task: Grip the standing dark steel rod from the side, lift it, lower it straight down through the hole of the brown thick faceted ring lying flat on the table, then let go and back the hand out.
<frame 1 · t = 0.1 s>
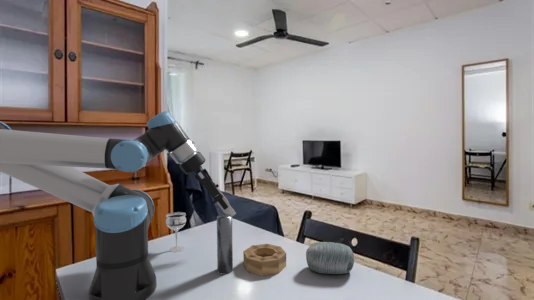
hand: (229, 210, 92), 15 cm above the table, fingers open, 13 cm apart
rod: (225, 270, 83), on the table
brown thick faceted ring: (264, 264, 86), on the table
wineglass: (176, 249, 98), on the table
grey yarn skein: (329, 272, 82), on the table
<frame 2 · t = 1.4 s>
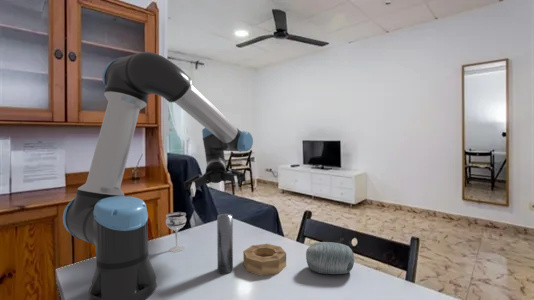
hand: (214, 189, 87), 23 cm above the table, fingers open, 13 cm apart
nothing on the table moved.
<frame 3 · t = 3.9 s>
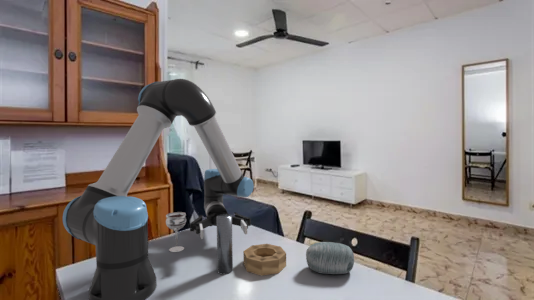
hand: (224, 232, 88), 9 cm above the table, fingers open, 13 cm apart
nothing on the table moved.
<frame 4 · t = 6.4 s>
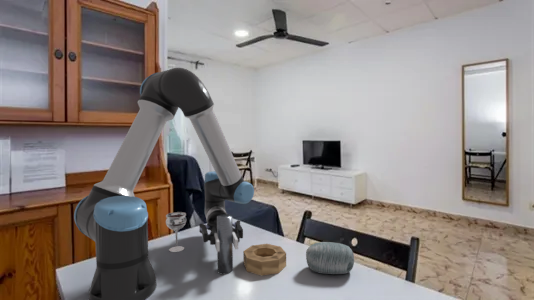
hand: (227, 245, 77), 10 cm above the table, fingers closed on rod, 4 cm apart
rod: (225, 270, 83), on the table, touching gripper
everything else where it was.
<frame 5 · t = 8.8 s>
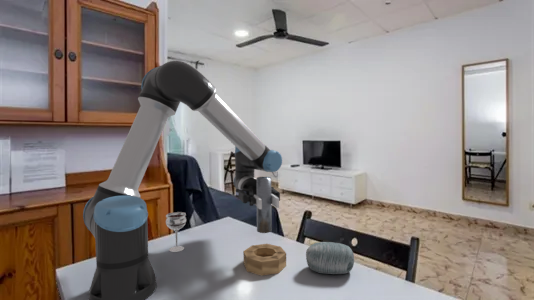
hand: (269, 203, 80), 20 cm above the table, fingers closed on rod, 4 cm apart
rod: (264, 230, 86), point 11 cm above the table, touching gripper
everything else where it was.
when the fingers open (11 cm above the table, at t = 11.2 s): rod drops 1 cm, resting in brown thick faceted ring.
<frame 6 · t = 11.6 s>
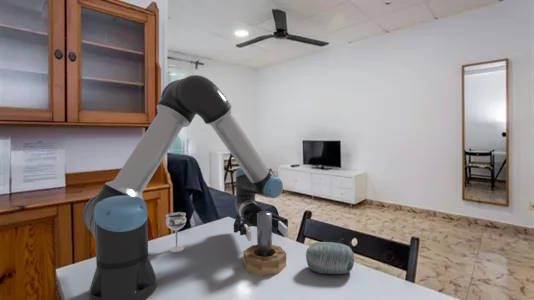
hand: (268, 234, 81), 11 cm above the table, fingers open, 10 cm apart
rod: (264, 264, 86), resting in brown thick faceted ring
everything else where it was.
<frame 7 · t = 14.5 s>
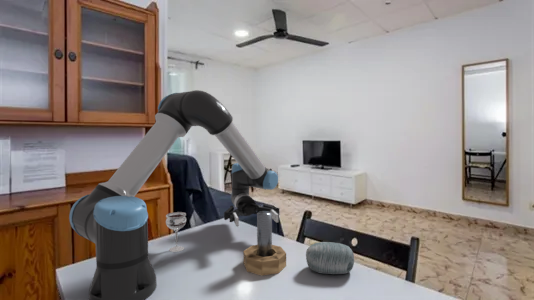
hand: (257, 220, 94), 11 cm above the table, fingers open, 13 cm apart
nothing on the table moved.
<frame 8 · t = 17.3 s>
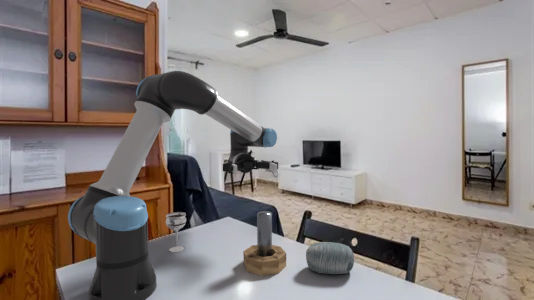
hand: (256, 169, 94), 28 cm above the table, fingers open, 13 cm apart
nothing on the table moved.
at the end: rod 0.1 cm from the brown thick faceted ring (horizontally); rod resting in brown thick faceted ring; rod tilted 0° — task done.
